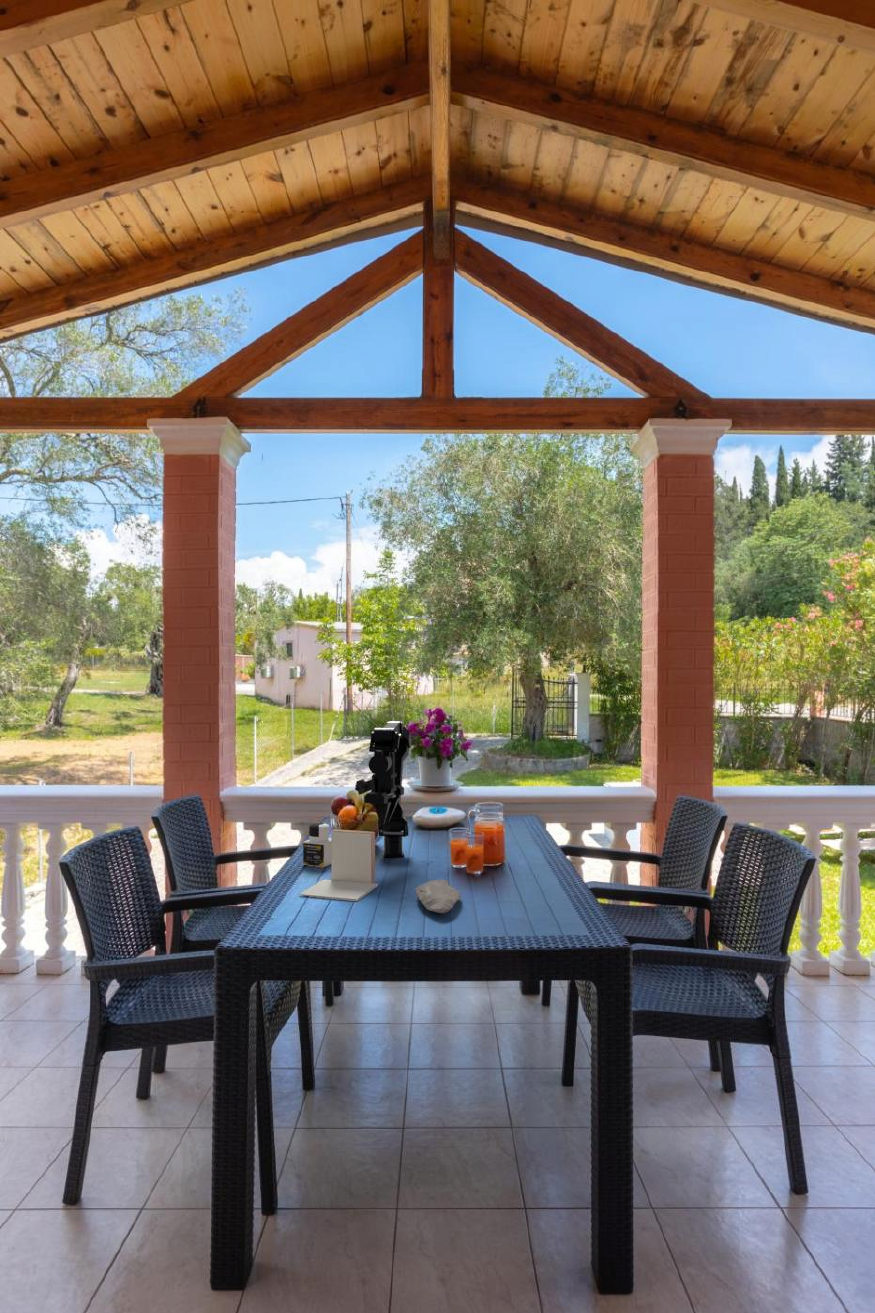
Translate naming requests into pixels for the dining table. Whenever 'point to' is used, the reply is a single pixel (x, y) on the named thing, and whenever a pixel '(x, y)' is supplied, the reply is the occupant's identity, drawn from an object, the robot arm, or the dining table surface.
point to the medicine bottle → (317, 846)
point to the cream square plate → (339, 890)
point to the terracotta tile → (353, 856)
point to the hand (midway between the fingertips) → (384, 823)
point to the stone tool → (437, 896)
